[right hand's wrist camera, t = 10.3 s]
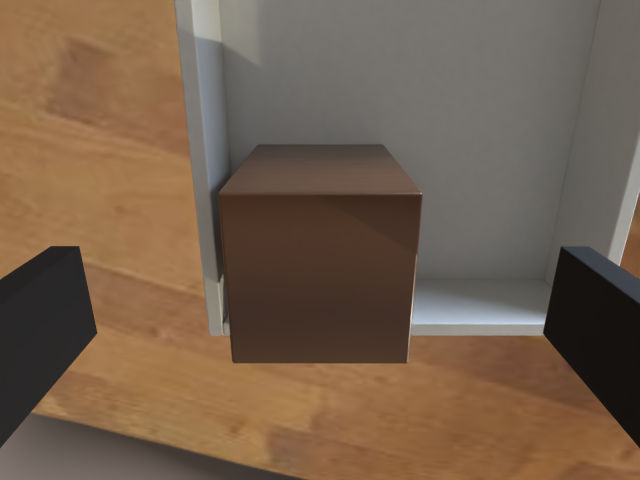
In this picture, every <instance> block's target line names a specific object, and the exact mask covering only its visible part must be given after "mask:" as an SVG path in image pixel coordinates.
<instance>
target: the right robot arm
mask: <svg viewBox="0 0 640 480" xmlns="http://www.w3.org/2000/svg"><path fill="white" fill-rule="evenodd" d="M96 334H97V329H96V325H95V320H94V315H93V310H92V305H91V301H90V296H89V291H88V286H87V282H86V277H85V272H84V267H83V262H82V258H81V253H80V248H79V246H51V247H49V248H48V249H46V250H45V251H43V252H42V253H40V254H39V255H37V256H36V257H34V258H33V259H31V260H29V261H28V262H26V263H25V264H23V265H22V266H20V267H19V268H17V269H16V270H14V271H13V272H11V273H10V274H8V275H7V276H5V277H4V278H2V279H1V280H0V448H1V447H2V445H3V444H4V443H5V442H6V441H7V439H8V438H9V437H10V436H11V435H12V434H13V432H14V431H15V430H16V429H17V428H18V426H19V425H20V424H21V423H22V422H23V421H24V419H25V418H26V417H27V416H28V415H29V413H30V412H31V411H32V410H33V409H34V408H35V406H36V405H37V404H38V403H39V402H40V400H41V399H42V398H43V397H44V396H45V395H46V393H47V392H48V391H49V390H50V389H51V387H52V386H53V385H54V384H55V383H56V381H57V380H58V379H59V378H60V377H61V376H62V374H63V373H64V372H65V371H66V370H67V368H68V367H69V366H70V365H71V364H72V363H73V361H74V360H75V359H76V358H77V357H78V355H79V354H80V353H81V352H82V351H83V350H84V348H85V347H86V346H87V345H88V344H89V342H90V341H91V340H92V339H93V338H94V337H95V335H96ZM543 334H544V335H545V337H546V338H547V339H548V340H549V341H550V342H551V344H552V345H553V346H554V347H555V348H556V350H557V351H558V352H559V353H560V354H561V355H562V357H563V358H564V359H565V360H566V361H567V363H568V364H569V365H570V366H571V367H572V368H573V370H574V371H575V372H576V373H577V374H578V376H579V377H580V378H581V379H582V380H583V381H584V383H585V384H586V385H587V386H588V387H589V389H590V390H591V391H592V392H593V393H594V395H595V396H596V397H597V398H598V399H599V400H600V402H601V403H602V404H603V405H604V406H605V408H606V409H607V410H608V411H609V412H610V413H611V415H612V416H613V417H614V418H615V419H616V421H617V422H618V423H619V424H620V425H621V426H622V428H623V429H624V430H625V431H626V432H627V434H628V435H629V436H630V437H631V438H632V439H633V441H634V442H635V443H636V444H637V445H638V447H639V448H640V280H639V279H638V278H636V277H635V276H633V275H632V274H630V273H629V272H627V271H626V270H624V269H623V268H621V267H620V266H618V265H617V264H615V263H614V262H612V261H611V260H609V259H607V258H606V257H604V256H603V255H601V254H600V253H598V252H597V251H595V250H594V249H592V248H591V247H589V246H561V248H560V253H559V258H558V262H557V267H556V272H555V277H554V281H553V286H552V291H551V296H550V301H549V305H548V310H547V315H546V320H545V325H544V329H543Z"/></svg>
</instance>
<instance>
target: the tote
mask: <svg viewBox="0 0 640 480" xmlns="http://www.w3.org/2000/svg"><path fill="white" fill-rule="evenodd" d="M174 6H175V15H176V25H177V34H178V44H179V53H180V63H181V72H182V82H183V91H184V101H185V110H186V119H187V129H188V138H189V148H190V157H191V167H192V176H193V186H194V195H195V205H196V214H197V223H198V233H199V242H200V252H201V261H202V271H203V280H204V290H205V299H206V309H207V318H208V327H209V334H210V335H223V334H224V335H230V329H229V318H228V306H227V294H226V283H225V271H224V260H223V248H222V236H221V225H220V213H219V201H218V193H219V192H220V190H221V189H222V188H223V187H224V186H225V184H226V183H227V182H228V181H229V179H230V178H231V177H232V176H233V174H234V173H235V172H236V171H237V170H238V168H239V167H240V166H241V165H242V163H243V162H244V161H245V160H246V158H247V157H248V156H249V155H250V154H251V152H252V151H253V150H254V149H255V147H256V146H257V145H259V144H382V145H384V146H385V147H386V149H387V150H388V151H389V152H390V154H391V155H392V156H393V157H394V159H395V160H396V161H397V162H398V163H399V165H400V166H401V167H402V168H403V170H404V171H405V172H406V173H407V175H408V176H409V177H410V178H411V180H412V181H413V182H414V183H415V184H416V186H417V187H418V188H419V189H420V191H421V192H422V194H423V200H422V212H421V223H420V235H419V246H418V258H417V269H416V281H415V292H414V304H413V315H412V327H411V335H530V336H545V335H544V334H543V329H544V325H545V320H546V315H547V310H548V305H549V301H550V296H551V291H552V286H553V281H554V277H555V272H556V267H557V262H558V258H559V253H560V248H561V246H589V247H591V248H592V249H594V250H595V251H597V252H598V253H600V254H601V255H603V256H604V257H606V258H607V259H609V260H611V261H612V262H614V263H615V264H617V265H618V266H620V262H621V259H622V255H623V251H624V247H625V244H626V240H627V236H628V233H629V229H630V225H631V221H632V218H633V214H634V210H635V207H636V203H637V199H638V195H639V192H640V0H174Z"/></svg>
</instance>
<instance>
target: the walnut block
mask: <svg viewBox="0 0 640 480" xmlns="http://www.w3.org/2000/svg"><path fill="white" fill-rule="evenodd" d="M422 200H423V194H422V192H421V191H420V189H419V188H418V187H417V186H416V184H415V183H414V182H413V181H412V180H411V178H410V177H409V176H408V175H407V173H406V172H405V171H404V170H403V168H402V167H401V166H400V165H399V163H398V162H397V161H396V160H395V159H394V157H393V156H392V155H391V154H390V152H389V151H388V150H387V149H386V147H385V146H384V145H382V144H259V145H257V146H256V147H255V149H254V150H253V151H252V152H251V154H250V155H249V156H248V157H247V158H246V160H245V161H244V162H243V163H242V165H241V166H240V167H239V168H238V170H237V171H236V172H235V173H234V174H233V176H232V177H231V178H230V179H229V181H228V182H227V183H226V184H225V186H224V187H223V188H222V189H221V190H220V192H219V193H218V201H219V213H220V225H221V236H222V248H223V260H224V271H225V283H226V294H227V306H228V318H229V329H230V341H231V353H232V361H233V363H408V361H409V350H410V338H411V327H412V315H413V304H414V292H415V281H416V269H417V258H418V246H419V235H420V223H421V212H422Z"/></svg>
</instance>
